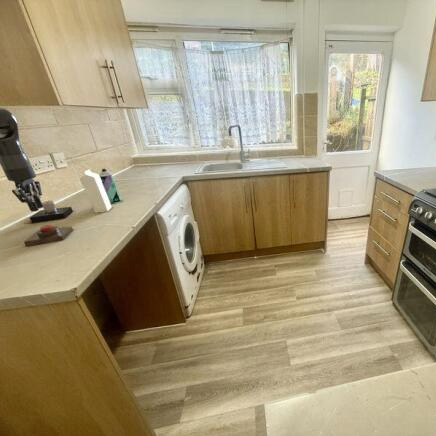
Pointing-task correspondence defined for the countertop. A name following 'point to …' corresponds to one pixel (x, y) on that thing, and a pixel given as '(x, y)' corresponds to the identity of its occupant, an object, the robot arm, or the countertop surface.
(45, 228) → the button
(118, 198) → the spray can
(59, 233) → the igniter
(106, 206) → the milk
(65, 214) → the panel
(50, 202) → the hob knob
